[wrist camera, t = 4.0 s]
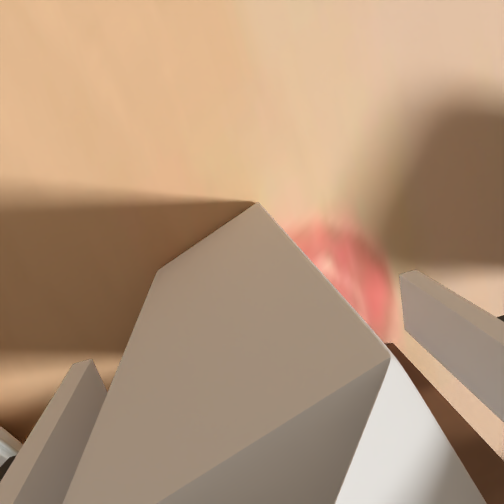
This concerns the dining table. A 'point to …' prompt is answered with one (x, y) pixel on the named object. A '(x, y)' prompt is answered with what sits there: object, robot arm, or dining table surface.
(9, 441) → the square plate
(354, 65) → the dining table surface
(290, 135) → the dining table surface
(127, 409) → the milk carton
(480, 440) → the sign board
